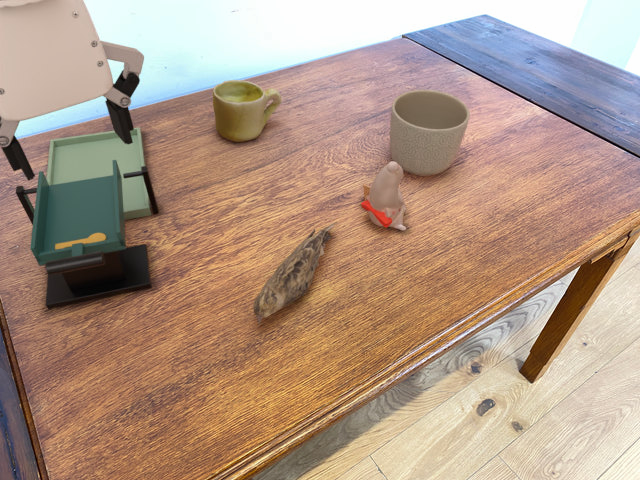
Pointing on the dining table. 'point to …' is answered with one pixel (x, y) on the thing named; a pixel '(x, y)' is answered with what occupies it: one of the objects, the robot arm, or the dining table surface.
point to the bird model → (292, 275)
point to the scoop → (77, 221)
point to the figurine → (386, 198)
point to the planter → (427, 130)
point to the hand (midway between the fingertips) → (77, 154)
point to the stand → (105, 280)
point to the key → (83, 240)
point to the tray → (102, 165)
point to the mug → (242, 109)
